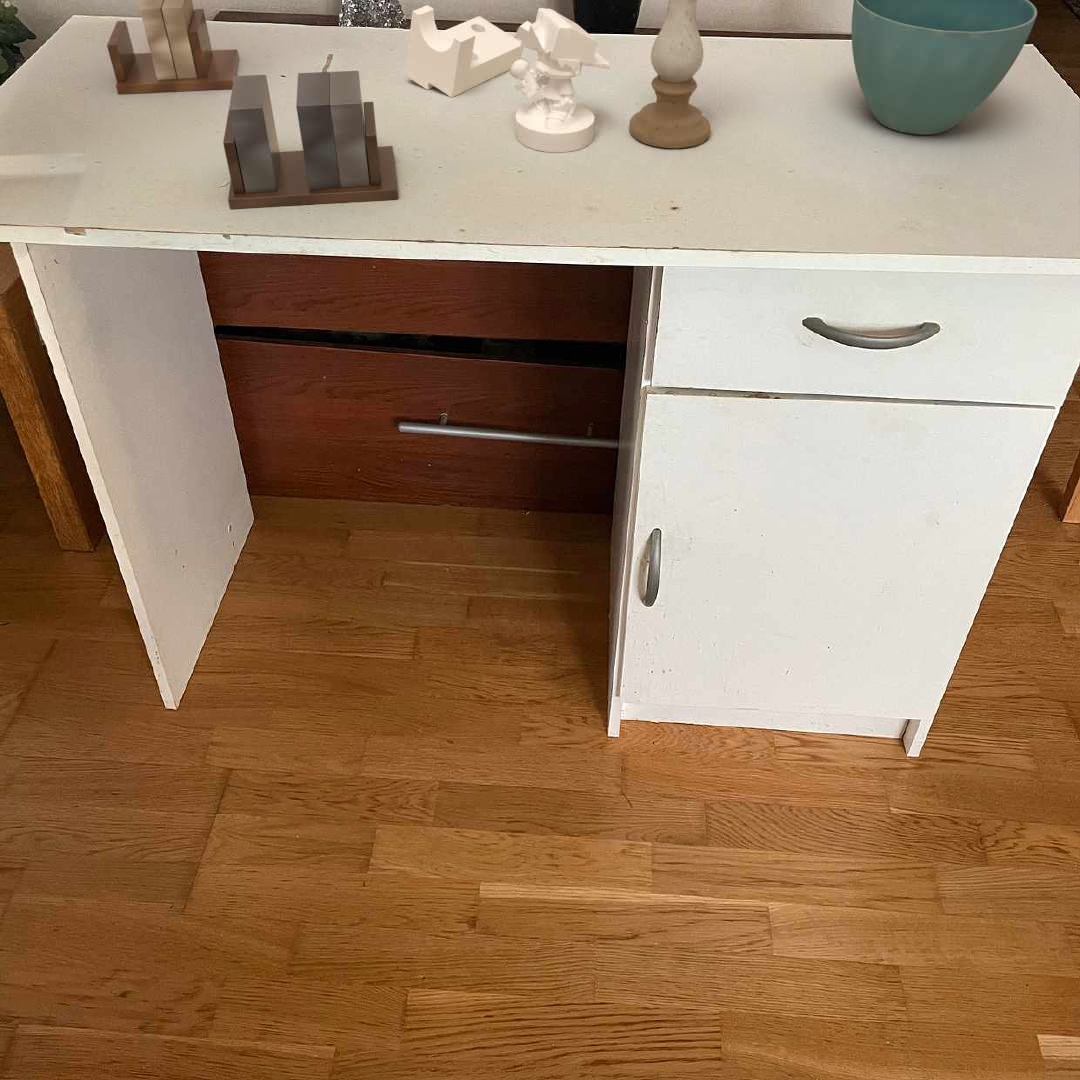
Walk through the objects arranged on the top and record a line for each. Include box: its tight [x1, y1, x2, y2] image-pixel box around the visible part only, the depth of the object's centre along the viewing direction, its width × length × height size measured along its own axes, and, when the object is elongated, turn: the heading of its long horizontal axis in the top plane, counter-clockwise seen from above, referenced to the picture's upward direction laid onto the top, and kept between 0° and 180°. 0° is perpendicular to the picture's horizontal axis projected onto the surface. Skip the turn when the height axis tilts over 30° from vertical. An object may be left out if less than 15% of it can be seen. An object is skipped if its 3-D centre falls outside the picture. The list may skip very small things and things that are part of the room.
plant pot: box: [851, 0, 1038, 136], centre depth 109 cm, size 18×18×12 cm
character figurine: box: [510, 7, 611, 153], centre depth 105 cm, size 9×10×12 cm
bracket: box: [404, 4, 524, 98], centre depth 119 cm, size 13×7×8 cm, turn 144°
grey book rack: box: [222, 70, 399, 210], centre depth 98 cm, size 16×10×9 cm, turn 99°
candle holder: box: [628, 0, 712, 149], centre depth 103 cm, size 9×9×20 cm
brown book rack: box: [106, 0, 240, 95], centre depth 117 cm, size 13×10×9 cm
